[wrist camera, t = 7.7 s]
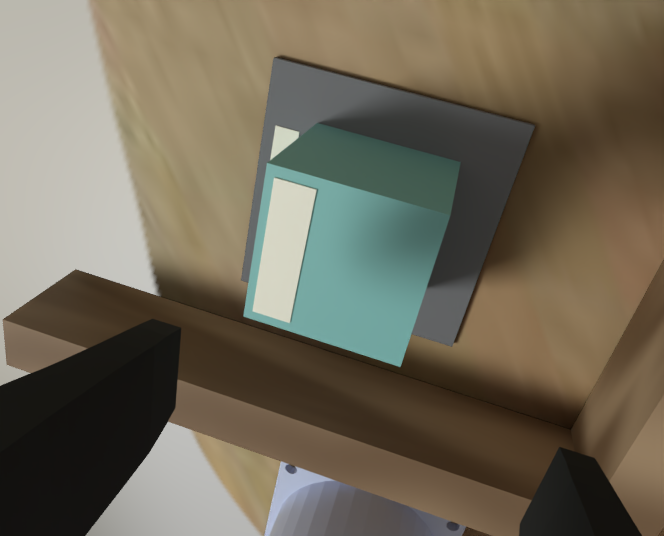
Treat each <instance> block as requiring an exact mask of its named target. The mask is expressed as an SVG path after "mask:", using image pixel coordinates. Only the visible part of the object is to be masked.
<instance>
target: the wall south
mask: <svg viewBox="0 0 664 536" xmlns="http://www.w3.org/2000/svg"><path fill="white" fill-rule="evenodd" d="M571 434H572V440H573V446H574V451H575V452H578V453H581V454H584V455H587V456H590V457H594V458H595V459H596V461H597V462H598V464H599V465H600V467H601V469H602V470H603V472H604V473H605V475H606V477H607V478H608V480H609V482H610V483H611V485H612V487H613V488H614V490H615V492H616V493H617V495H618V497H619V498H620V500H621V502H622V503H623V505H624V507H625V508H626V510H627V512H628V513H629V515H630V517H631V518H632V520H633V522H634V523H635V525H636V526H637V528H638V530H639V531H640V533H641V535H642V536H658V535H659V534H660V532H661V531H662V529H663V528H664V260H663V262H662V264H661V266H660V268H659V270H658V271H657V273H656V275H655V277H654V279H653V281H652V282H651V284H650V286H649V288H648V290H647V291H646V293H645V295H644V297H643V299H642V301H641V302H640V304H639V306H638V308H637V310H636V312H635V313H634V315H633V317H632V319H631V321H630V323H629V324H628V326H627V328H626V330H625V332H624V334H623V335H622V337H621V339H620V341H619V343H618V345H617V346H616V348H615V350H614V352H613V354H612V356H611V357H610V359H609V361H608V363H607V365H606V366H605V368H604V370H603V372H602V374H601V376H600V377H599V379H598V381H597V383H596V385H595V387H594V388H593V390H592V392H591V394H590V396H589V398H588V399H587V401H586V403H585V405H584V407H583V409H582V410H581V412H580V414H579V416H578V418H577V420H576V421H575V423H574V425H573V427H572V429H571Z"/></svg>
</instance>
